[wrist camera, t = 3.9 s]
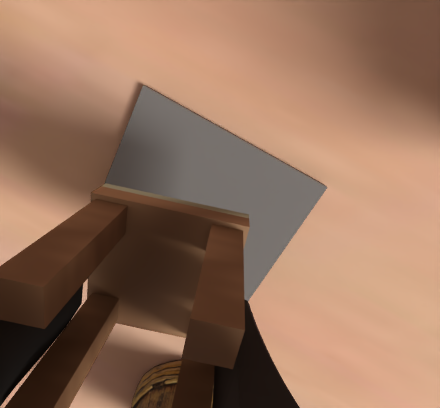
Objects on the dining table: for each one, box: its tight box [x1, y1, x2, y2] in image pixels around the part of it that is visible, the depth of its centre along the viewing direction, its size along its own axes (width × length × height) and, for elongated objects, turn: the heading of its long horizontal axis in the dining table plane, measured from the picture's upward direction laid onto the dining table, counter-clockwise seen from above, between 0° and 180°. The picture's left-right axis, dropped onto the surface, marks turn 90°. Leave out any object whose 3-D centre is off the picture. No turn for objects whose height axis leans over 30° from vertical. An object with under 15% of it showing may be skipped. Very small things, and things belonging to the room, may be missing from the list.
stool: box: [0, 183, 250, 408], centre depth 10 cm, size 6×6×6 cm
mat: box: [105, 85, 327, 301], centre depth 18 cm, size 12×12×1 cm
